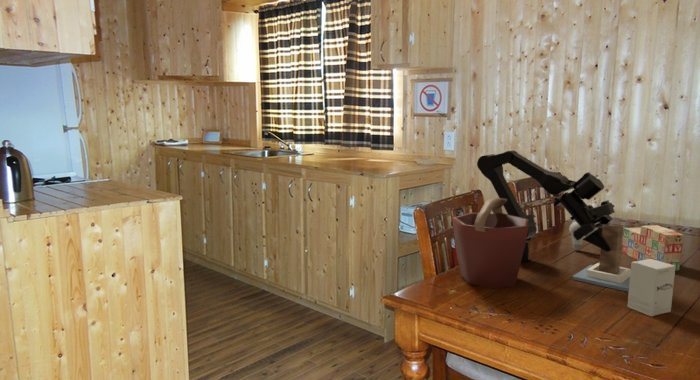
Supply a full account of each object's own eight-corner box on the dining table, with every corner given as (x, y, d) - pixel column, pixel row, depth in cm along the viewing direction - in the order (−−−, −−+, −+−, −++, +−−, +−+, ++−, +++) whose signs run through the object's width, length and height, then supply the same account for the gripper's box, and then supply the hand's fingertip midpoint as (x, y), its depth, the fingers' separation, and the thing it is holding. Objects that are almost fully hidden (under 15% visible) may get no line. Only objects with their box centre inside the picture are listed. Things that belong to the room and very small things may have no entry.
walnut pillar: (598, 271, 159) (602, 227, 156) (603, 268, 162) (607, 224, 160) (614, 274, 156) (618, 229, 153) (619, 271, 159) (623, 227, 157)
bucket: (481, 262, 176) (483, 190, 172) (544, 277, 161) (548, 198, 157) (438, 280, 159) (440, 200, 155) (503, 298, 144) (507, 210, 140)
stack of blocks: (621, 252, 187) (624, 219, 185) (637, 252, 188) (640, 219, 186) (662, 271, 166) (665, 234, 164) (680, 270, 167) (684, 233, 165)
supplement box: (652, 317, 131) (656, 269, 128) (626, 307, 137) (630, 261, 135) (672, 312, 133) (676, 265, 131) (645, 302, 140) (649, 257, 138)
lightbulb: (568, 252, 188) (570, 222, 186) (567, 247, 194) (569, 219, 192) (586, 253, 186) (588, 223, 184) (585, 249, 191) (587, 220, 189)
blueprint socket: (572, 279, 159) (572, 270, 158) (590, 267, 170) (591, 258, 170) (629, 292, 148) (630, 281, 148) (644, 278, 159) (645, 268, 159)
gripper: (587, 197, 152) (624, 240, 146) (608, 189, 165) (643, 228, 159) (558, 219, 158) (593, 261, 153) (581, 210, 172) (614, 248, 166)
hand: (612, 249), depth 157 cm, fingers closed on walnut pillar, 4 cm apart
